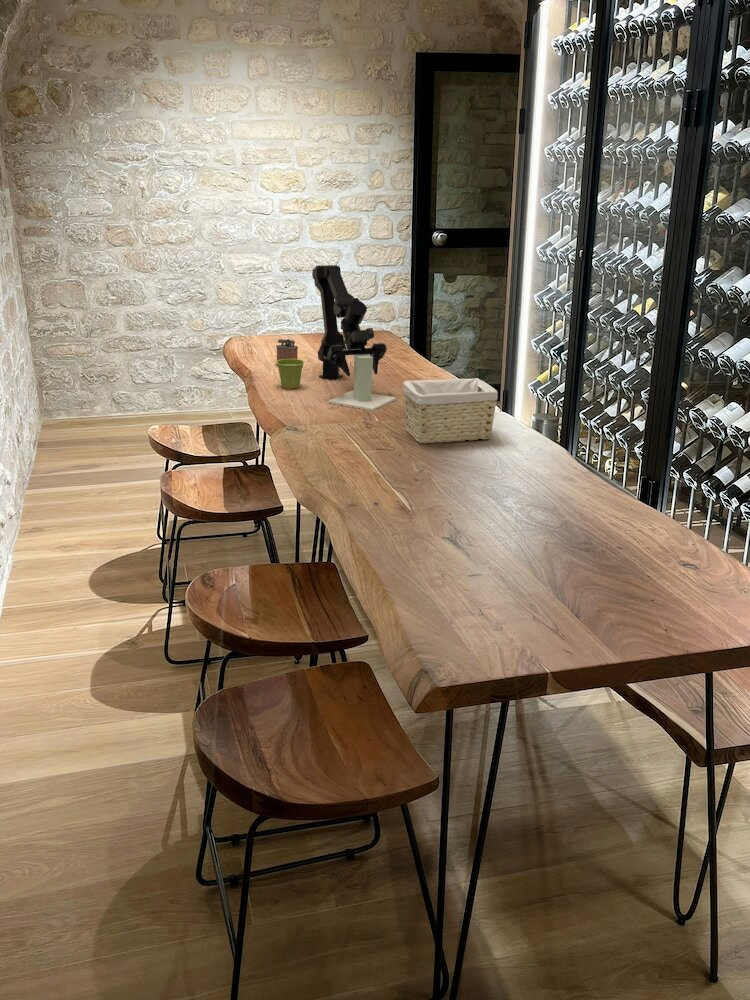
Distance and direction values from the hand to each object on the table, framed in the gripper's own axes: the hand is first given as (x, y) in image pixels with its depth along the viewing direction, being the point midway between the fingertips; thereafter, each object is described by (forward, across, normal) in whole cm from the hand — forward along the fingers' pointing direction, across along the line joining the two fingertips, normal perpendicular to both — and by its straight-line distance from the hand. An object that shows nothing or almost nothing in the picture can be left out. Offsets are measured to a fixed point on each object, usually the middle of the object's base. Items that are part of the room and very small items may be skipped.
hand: (362, 374), depth 277 cm
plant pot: (-10, -18, +22) cm, 30 cm away
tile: (+6, 0, +6) cm, 9 cm away
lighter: (-31, -10, +44) cm, 55 cm away
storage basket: (+34, +12, -22) cm, 42 cm away
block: (+6, 0, +5) cm, 8 cm away
